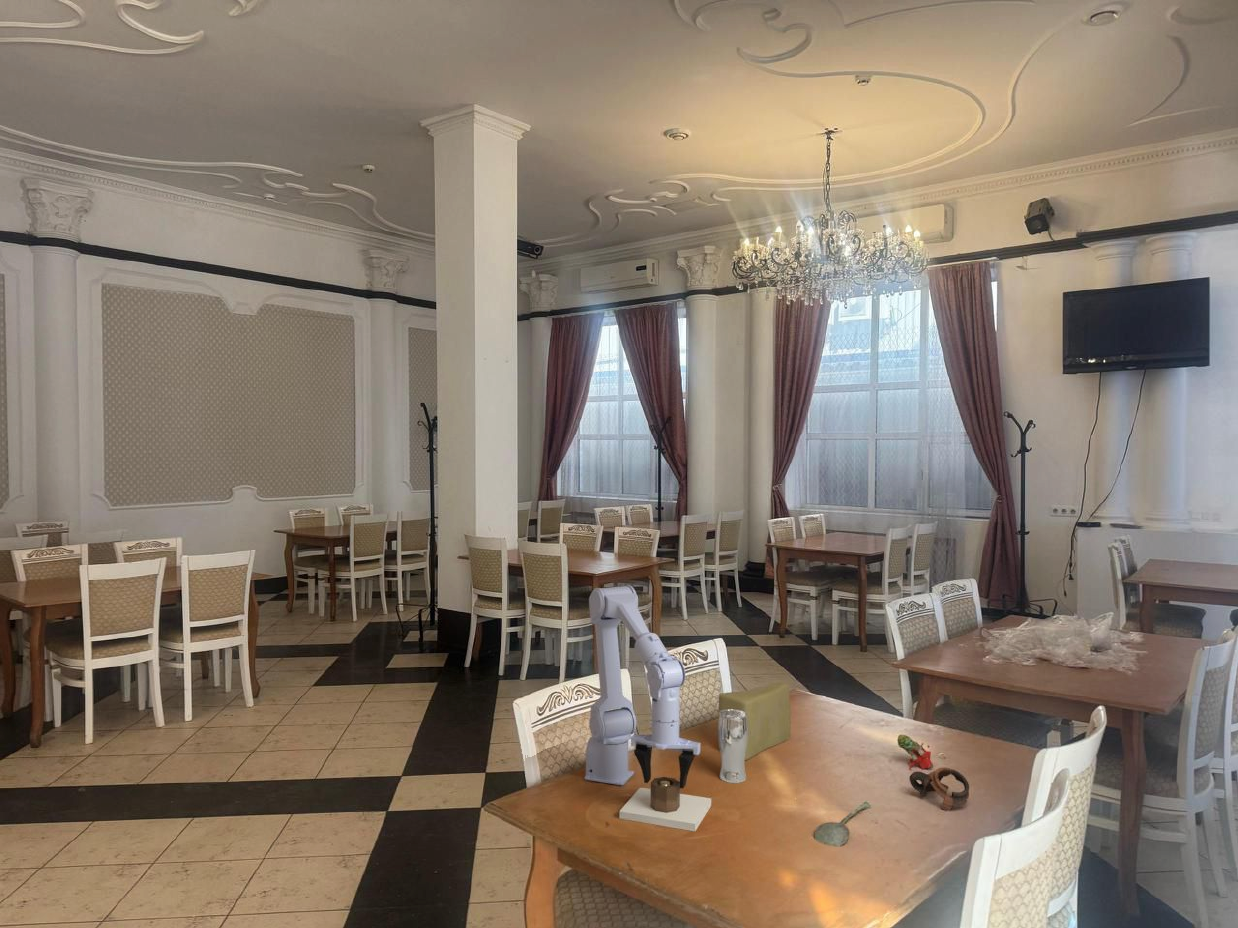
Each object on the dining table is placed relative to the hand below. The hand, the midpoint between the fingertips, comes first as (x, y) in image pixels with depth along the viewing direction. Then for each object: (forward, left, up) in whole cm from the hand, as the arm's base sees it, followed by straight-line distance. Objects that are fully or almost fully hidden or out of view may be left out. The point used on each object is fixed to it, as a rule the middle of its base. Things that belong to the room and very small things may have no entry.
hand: (665, 783), depth 168 cm
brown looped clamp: (+53, +28, -6) cm, 61 cm away
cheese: (+11, +47, -6) cm, 49 cm away
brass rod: (0, 0, -6) cm, 6 cm away
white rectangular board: (0, +1, -6) cm, 6 cm away
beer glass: (+9, +24, -6) cm, 26 cm away
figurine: (+49, +47, -6) cm, 68 cm away
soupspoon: (+36, +9, -7) cm, 38 cm away
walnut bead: (0, 0, -5) cm, 5 cm away
